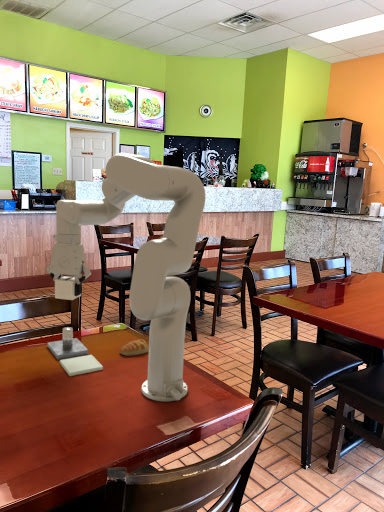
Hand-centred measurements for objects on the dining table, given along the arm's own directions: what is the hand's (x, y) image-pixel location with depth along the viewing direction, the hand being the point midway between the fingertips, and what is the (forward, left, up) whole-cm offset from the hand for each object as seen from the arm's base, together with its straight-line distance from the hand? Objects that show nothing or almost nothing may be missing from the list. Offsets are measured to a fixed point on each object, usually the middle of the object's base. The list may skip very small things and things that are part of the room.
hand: (68, 293), depth 132 cm
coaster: (-14, 0, -19) cm, 24 cm away
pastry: (-10, -20, -20) cm, 30 cm away
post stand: (0, 0, -19) cm, 19 cm away
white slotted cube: (0, 0, -1) cm, 1 cm away
